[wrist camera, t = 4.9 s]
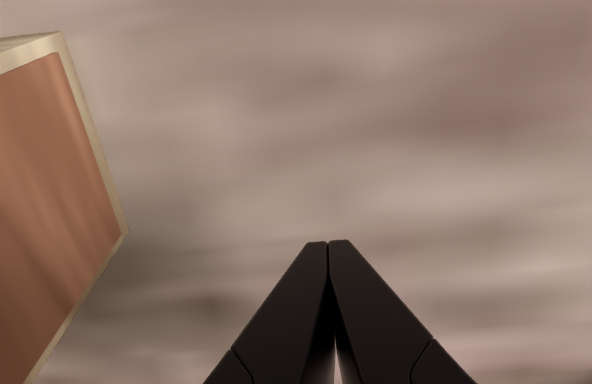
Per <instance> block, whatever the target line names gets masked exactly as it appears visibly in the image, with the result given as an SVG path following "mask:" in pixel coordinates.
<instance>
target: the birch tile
mask: <svg viewBox="0 0 592 384" xmlns="http://www.w3.org/2000/svg"><path fill="white" fill-rule="evenodd" d="M129 231H130V230H129V227H128V224H127V221H126V218H125V215H124V212H123V209H122V206H121V203H120V200H119V197H118V195H117V192H116V189H115V186H114V183H113V180H112V177H111V174H110V171H109V168H108V165H107V162H106V159H105V156H104V153H103V150H102V147H101V144H100V141H99V138H98V135H97V132H96V129H95V126H94V123H93V120H92V118H91V115H90V112H89V109H88V106H87V103H86V100H85V97H84V94H83V91H82V88H81V85H80V82H79V79H78V76H77V73H76V70H75V67H74V64H73V61H72V58H71V55H70V52H69V49H68V46H67V43H66V41H65V38H64V35H63V32H62V31H57V32H48V33H39V34H30V35H21V36H12V37H3V38H0V384H32V382H33V380H34V379H35V377H36V376H37V374H38V373H39V371H40V370H41V368H42V366H43V365H44V363H45V362H46V360H47V359H48V357H49V356H50V354H51V352H52V351H53V349H54V348H55V346H56V345H57V343H58V342H59V340H60V338H61V337H62V335H63V334H64V332H65V331H66V329H67V328H68V326H69V324H70V323H71V321H72V320H73V318H74V317H75V315H76V314H77V312H78V310H79V309H80V307H81V306H82V304H83V303H84V301H85V300H86V298H87V296H88V295H89V293H90V292H91V290H92V289H93V287H94V285H95V284H96V282H97V281H98V279H99V278H100V276H101V275H102V273H103V271H104V270H105V268H106V267H107V265H108V264H109V262H110V261H111V259H112V257H113V256H114V254H115V253H116V251H117V250H118V248H119V247H120V245H121V243H122V242H123V240H124V239H125V237H126V236H127V234H128V233H129Z"/></svg>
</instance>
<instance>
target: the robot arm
mask: <svg viewBox="0 0 592 384" xmlns="http://www.w3.org/2000/svg"><path fill="white" fill-rule="evenodd" d="M335 340H336V350H337V356H338V362H339V367H340V372H341V377H342V382H343V384H477V383H476V382H475V381H474V380H473V379H472V378H471V377H470V376H469V375H468V374H467V373H466V372H465V371H464V370H463V369H462V368H461V367H460V366H459V365H458V363H457V362H456V361H455V360H454V359H453V358H452V357H451V356H450V355H449V354H448V353H447V352H446V350H445V349H444V348H443V347H442V346H441V345H440V343H439V342H438V341H437V340H436V339H433V336H432V335H431V333H430V332H429V331H428V330H427V329H426V328H425V327H424V325H423V324H422V323H421V322H420V321H419V320H418V319H417V317H416V316H415V315H414V314H413V313H412V312H411V311H410V309H409V308H408V307H407V306H406V305H405V304H404V303H403V301H402V300H401V299H400V298H399V297H398V296H397V295H396V294H395V292H394V291H393V290H392V289H391V288H390V287H389V286H388V284H387V283H386V282H385V281H384V280H383V279H382V278H381V276H380V275H379V274H378V273H377V272H376V271H375V270H374V268H373V267H372V266H371V265H370V264H369V263H368V262H367V260H366V259H365V258H364V257H363V256H362V255H361V254H360V252H359V251H358V250H357V249H356V248H355V247H354V246H353V244H352V243H351V242H350V241H349V240H346V239H345V240H332V241H329V243H327V242H325V241H319V242H308V243H307V244H306V245H305V246H304V248H303V249H302V250H301V252H300V253H299V254H298V256H297V257H296V259H295V260H294V261H293V263H292V264H291V265H290V267H289V268H288V269H287V271H286V272H285V274H284V275H283V276H282V278H281V279H280V280H279V282H278V283H277V284H276V286H275V287H274V289H273V290H272V291H271V293H270V294H269V295H268V297H267V298H266V300H265V301H264V302H263V304H262V305H261V306H260V308H259V309H258V310H257V312H256V313H255V315H254V316H253V317H252V319H251V320H250V321H249V323H248V324H247V325H246V327H245V328H244V330H243V331H242V332H241V334H240V335H239V336H238V338H237V339H236V341H235V342H234V343H233V345H232V346H231V350H228V351H227V352H226V354H225V355H224V357H223V358H222V359H221V361H220V362H219V363H218V365H217V366H216V367H215V369H214V370H213V371H212V372H211V374H210V375H209V376H208V378H207V379H206V380H205V381H204V383H203V384H334V370H335Z"/></svg>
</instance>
